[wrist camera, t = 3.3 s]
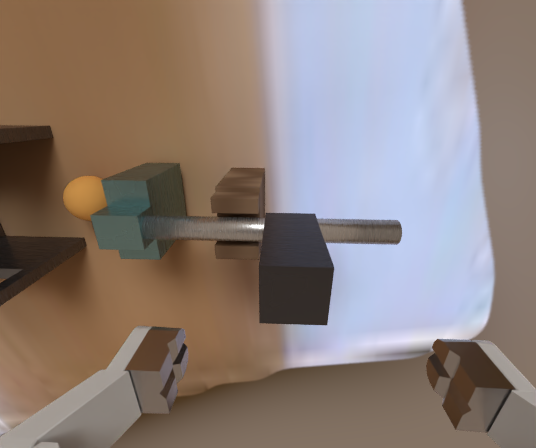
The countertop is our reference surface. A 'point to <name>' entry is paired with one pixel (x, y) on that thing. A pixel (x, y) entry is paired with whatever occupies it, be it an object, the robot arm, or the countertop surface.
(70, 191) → the ball
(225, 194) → the rod cradle
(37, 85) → the countertop surface
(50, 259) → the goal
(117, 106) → the countertop surface
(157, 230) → the rod
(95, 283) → the countertop surface
